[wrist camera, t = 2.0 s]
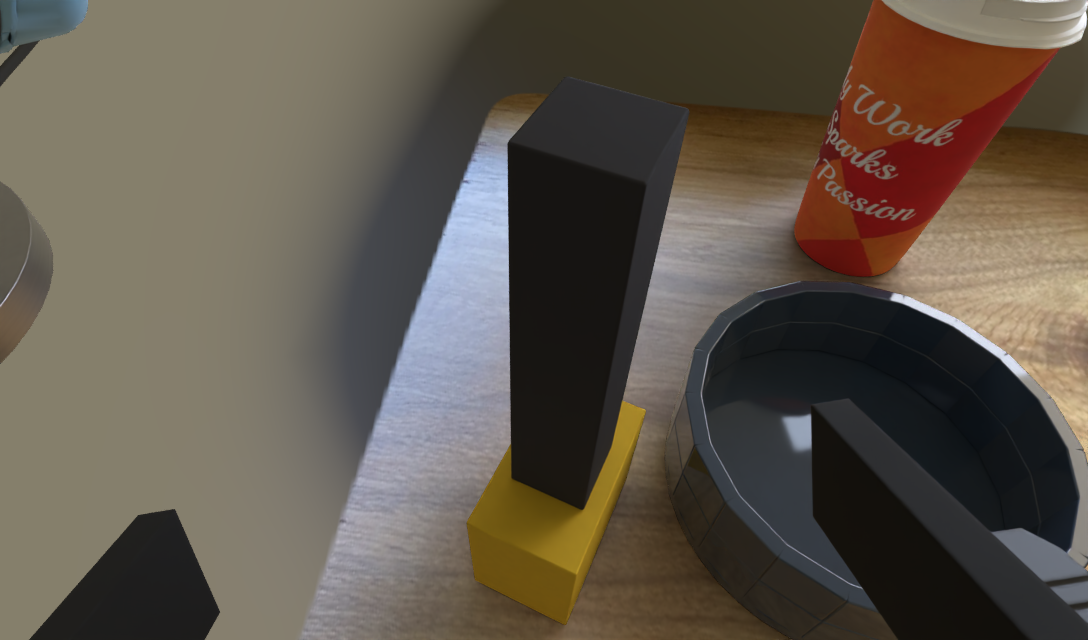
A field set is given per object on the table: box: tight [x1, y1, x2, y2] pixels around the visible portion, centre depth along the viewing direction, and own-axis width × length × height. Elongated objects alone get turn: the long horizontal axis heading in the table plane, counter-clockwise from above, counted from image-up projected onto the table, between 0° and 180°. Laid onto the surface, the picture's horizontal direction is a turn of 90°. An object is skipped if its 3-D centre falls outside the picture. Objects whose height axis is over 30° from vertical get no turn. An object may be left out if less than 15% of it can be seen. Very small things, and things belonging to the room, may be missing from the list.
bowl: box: [665, 281, 1088, 640], centre depth 24 cm, size 13×13×4 cm
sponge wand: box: [467, 77, 689, 625], centre depth 17 cm, size 4×6×17 cm, turn 155°
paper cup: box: [794, 0, 1088, 277], centre depth 29 cm, size 8×8×14 cm
